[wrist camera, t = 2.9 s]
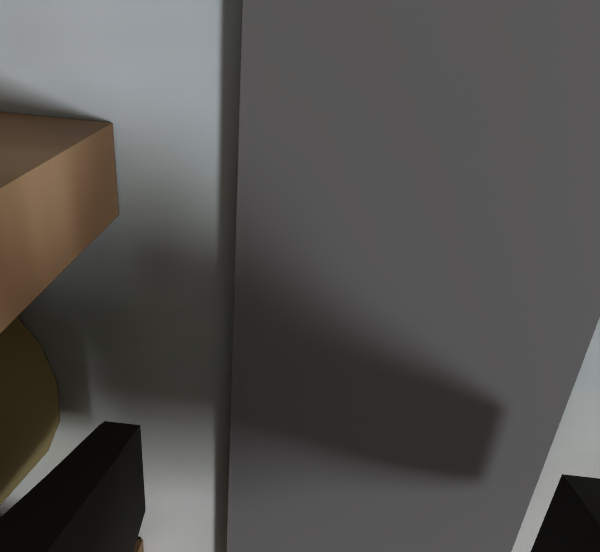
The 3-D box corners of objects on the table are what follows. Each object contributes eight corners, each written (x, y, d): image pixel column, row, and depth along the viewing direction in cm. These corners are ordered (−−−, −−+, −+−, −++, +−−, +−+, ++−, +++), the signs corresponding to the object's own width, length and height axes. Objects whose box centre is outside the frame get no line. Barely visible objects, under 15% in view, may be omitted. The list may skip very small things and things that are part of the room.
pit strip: (447, 700, 15) (449, 714, 15) (225, 672, 15) (222, 685, 15) (743, -107, 7) (760, -111, 7) (251, -147, 7) (247, -153, 7)
